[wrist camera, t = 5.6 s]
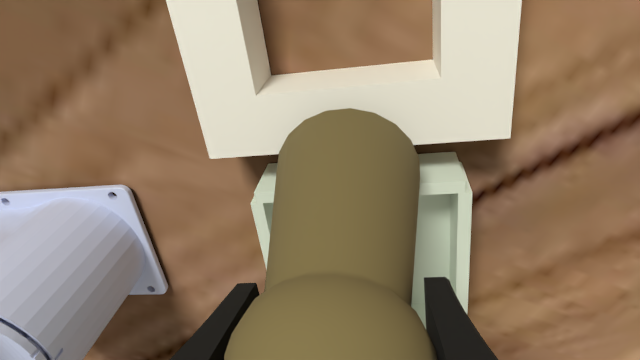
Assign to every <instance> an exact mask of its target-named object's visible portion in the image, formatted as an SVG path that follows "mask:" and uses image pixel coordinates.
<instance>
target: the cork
mask: <svg viewBox="0 0 640 360" xmlns="http://www.w3.org/2000/svg"><path fill="white" fill-rule="evenodd" d="M419 188H420V163H419V157H418V155H417V153H416V150H415V148H414V146H413V143H412V141H411V140H410V138H409V137H408V136H407V135H406V134H405V133H404V132H403V131H402V130H401V129H400V128H399V127H398V126H397V125H396V124H395V123H393V122H391V121H389V120H387V119H385V118H384V117H382V116H380V115H378V114H376V113H373V112H368V111H363V110H358V109H352V108H347V109H337V110H328V111H324V112H322V113H320V114H317V115H315V116H313V117H310V118H308V119H306V120H304V121H303V122H302V123H301V124H300V125H298V126H297V127H296V128H295V129H294V130H293V131H292V132H291V133H289V134H288V136H287V138H286V140H285V142H284V144H283V146H282V147H281V149H280V151H279V157H278V164H277V173H276V183H275V192H274V202H273V212H272V222H271V232H270V242H269V251H268V261H267V271H266V281H265V291H264V292H263V293H262V294H261V295H259V296H258V297H256V298H255V299H254V300H253V302H252V303H251V305H250V306H249V308H248V309H247V311H246V312H245V314H244V315H243V317H242V318H241V320H240V321H239V323H238V325H237V326H236V328H235V329H234V331H233V332H232V334H231V337H230V340H229V343H228V346H227V349H226V352H225V354H224V360H437V354H436V350H435V348H434V345H433V343H432V341H431V339H430V337H429V334H428V332H427V330H426V328H425V326H424V325H423V323H422V321H421V319H420V317H419V316H418V314H417V312H416V311H415V310H414V309H413V308H412V307H411V303H412V288H413V274H414V260H415V245H416V231H417V216H418V202H419Z"/></svg>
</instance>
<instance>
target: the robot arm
mask: <svg viewBox="0 0 640 360" xmlns="http://www.w3.org/2000/svg"><path fill="white" fill-rule="evenodd" d="M112 192H114V193H115V194H116V195H117V196H115V195H113V193H112ZM7 199H8V200H9V201H8V200H7ZM151 286H152V287H151ZM153 287H154V288H153ZM167 289H168V284H167V281H166V279H165V276H164V274H163V271H162V269H161V266H160V263H159V261H158V258H157V256H156V253H155V251H154V248H153V245H152V243H151V240H150V238H149V235H148V232H147V230H146V227H145V225H144V222H143V220H142V217H141V214H140V212H139V209H138V207H137V204H136V202H135V199H134V196H133V194H132V191H131V190H130V189H129V188H128V187H127V186H125V185H108V186H91V187H74V188H58V189H41V190H24V191H8V192H0V360H83V359H84V357H85V356H86V354H87V353H88V351H89V350H90V349H91V347H92V346H93V344H94V343H95V341H96V340H97V339H98V337H99V336H100V334H101V333H102V331H103V330H104V329H105V327H106V326H107V324H108V323H109V321H110V320H111V319H112V317H113V316H114V314H115V313H116V311H117V310H118V309H119V307H120V306H121V304H122V303H123V301H124V300H125V298H126V297H127V296H128V295H147V294H164V293H165V292H166V291H167ZM424 293H425V316H426V330H427V332H428V334H429V337H430V339H431V341H432V343H433V345H434V348H435V350H436V354H437V360H498V359H497V357H496V356H495V355H494V353H493V352H492V351H491V349H490V348H489V347H488V345H487V344H486V343H485V341H484V340H483V338H482V337H481V335H480V334H479V332H478V331H477V329H476V328H475V326H474V325H473V323H472V322H471V320H470V319H469V317H468V315H467V314H466V312H465V311H464V309H463V307H462V305H461V304H460V302H459V300H458V298H457V296H456V294H455V292H454V290H453V288H452V286H451V284H450V281H449V279H447V278H446V277H424ZM258 296H259V292H258V288H257V284H256V283H240V284H237V285H236V286H235V287H234V288H233V290H232V291H231V292H230V293H229V294H228V295H227V297H226V298H225V299H224V300H223V301H222V302H221V304H220V305H219V306H218V307H217V308H216V310H215V311H214V312H213V313H212V314H211V315H210V317H209V318H208V319H207V320H206V321H205V322H204V323H203V325H202V326H201V327H200V328H199V329H198V330H197V331H196V332H195V334H194V335H193V336H192V337H191V338H190V339H189V340H188V341H187V342H186V343H185V344H184V345H183V346H182V347H181V348H180V349H179V350H178V351H177V353H176V354H175V355H174V356H173V357H172V358H171V359H170V360H224V354H225V352H226V349H227V346H228V343H229V340H230V337H231V334H232V332H233V331H234V329H235V328H236V326H237V325H238V323H239V321H240V320H241V318H242V317H243V315H244V314H245V312H246V311H247V309H248V308H249V306H250V305H251V303H252V302H253V300H254V299H255V298H256V297H258Z"/></svg>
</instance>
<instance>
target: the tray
mask: <svg viewBox="0 0 640 360" xmlns="http://www.w3.org/2000/svg"><path fill="white" fill-rule="evenodd" d="M417 155H418V157H419V163H420V188H419V202H418V216H417V231H416V245H415V260H414V274H413V288H412V303H411V307H412V308H413V309H414V310H415V311H416V312H417V314H418V316H419V317H420V319H421V321H422V323H423V325H424V326H425V328H426V316H425V293H424V277H446V278H447V279H449V281H450V284H451V286H452V288H453V290H454V292H455V294H456V296H457V298H458V300H459V302H460V304H461V305H462V307H463V309H464V311H465V312H466V314H467V312H468V288H469V264H470V239H471V215H472V190H471V187H470V185H469V182H468V179H467V176H466V173H465V171H464V168H463V165H462V162H459V160H458V158H457V155H456V152H441V153H425V154H417ZM277 164H278V163H271V164H268V165H267V167H266V169H265V171H264V173H263V175H262V177H261V179H260V181H259V183H258V185H257V188H256V190H255V192H254V197H253V200H252V202H251V208H252V212H253V216H254V220H255V224H256V228H257V232H258V237H259V241H260V245H261V249H262V253H263V257H264V261H265V265H266V270H267V261H268V251H269V242H270V232H271V222H272V212H273V202H274V192H275V183H276V173H277Z"/></svg>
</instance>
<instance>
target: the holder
mask: <svg viewBox="0 0 640 360" xmlns="http://www.w3.org/2000/svg"><path fill="white" fill-rule="evenodd" d="M166 2H167V6H168V9H169V13H170V16H171V20H172V24H173V27H174V31H175V34H176V38H177V42H178V45H179V49H180V52H181V56H182V60H183V63H184V67H185V70H186V74H187V78H188V81H189V85H190V88H191V92H192V96H193V99H194V103H195V106H196V110H197V114H198V117H199V121H200V124H201V128H202V132H203V135H204V139H205V142H206V146H207V150H208V153H209V157H210V159H215V158H230V157H244V156H259V155H274V154H279V151H280V149H281V147H282V146H283V144H284V142H285V140H286V138H287V136H288V134H289V133H291V132H292V131H293V130H294V129H295V128H296V127H297V126H298V125H300V124H301V123H302V122H303V121H304V120H306V119H308V118H310V117H313V116H315V115H317V114H320V113H322V112H324V111H328V110H337V109H347V108H352V109H358V110H363V111H368V112H373V113H376V114H378V115H380V116H382V117H384V118H385V119H387V120H389V121H391V122H393V123H395V124H396V125H397V126H398V127H399V128H400V129H401V130H402V131H403V132H404V133H405V134H406V135H407V136H408V137H409V138H410V140H411V141H412V143H413V145H420V144H435V143H450V142H464V141H479V140H494V139H508V138H510V136H511V124H512V112H513V100H514V88H515V76H516V64H517V52H518V40H519V28H520V16H521V4H522V0H432V13H433V60H423V61H413V62H402V63H392V64H382V65H372V66H362V67H352V68H342V69H332V70H322V71H312V72H302V73H292V74H282V75H272V76H271V72H270V66H269V61H268V55H267V50H266V45H265V39H264V34H263V28H262V23H261V18H260V12H259V7H258V1H257V0H166Z"/></svg>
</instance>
